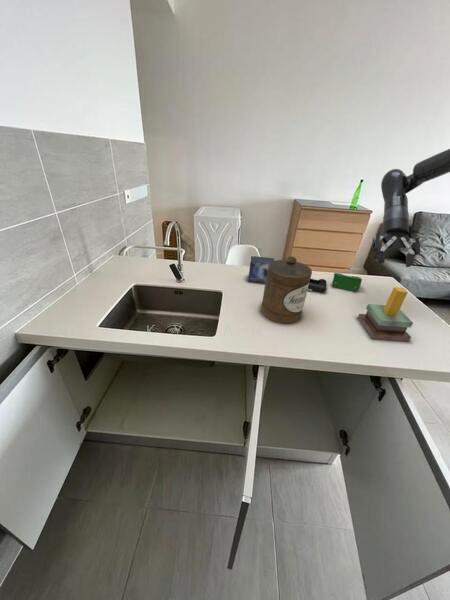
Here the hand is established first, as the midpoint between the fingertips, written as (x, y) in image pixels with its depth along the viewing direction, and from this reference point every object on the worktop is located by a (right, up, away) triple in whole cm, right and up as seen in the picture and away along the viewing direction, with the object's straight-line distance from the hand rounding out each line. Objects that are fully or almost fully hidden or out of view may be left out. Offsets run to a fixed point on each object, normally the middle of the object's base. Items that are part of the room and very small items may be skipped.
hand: (395, 264), depth 82 cm
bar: (-2, -16, -1) cm, 16 cm away
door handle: (-21, -4, +31) cm, 38 cm away
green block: (-3, -6, +30) cm, 31 cm away
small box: (-42, -3, +31) cm, 52 cm away
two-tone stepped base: (-3, -22, +3) cm, 23 cm away
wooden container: (-37, -17, +9) cm, 42 cm away
